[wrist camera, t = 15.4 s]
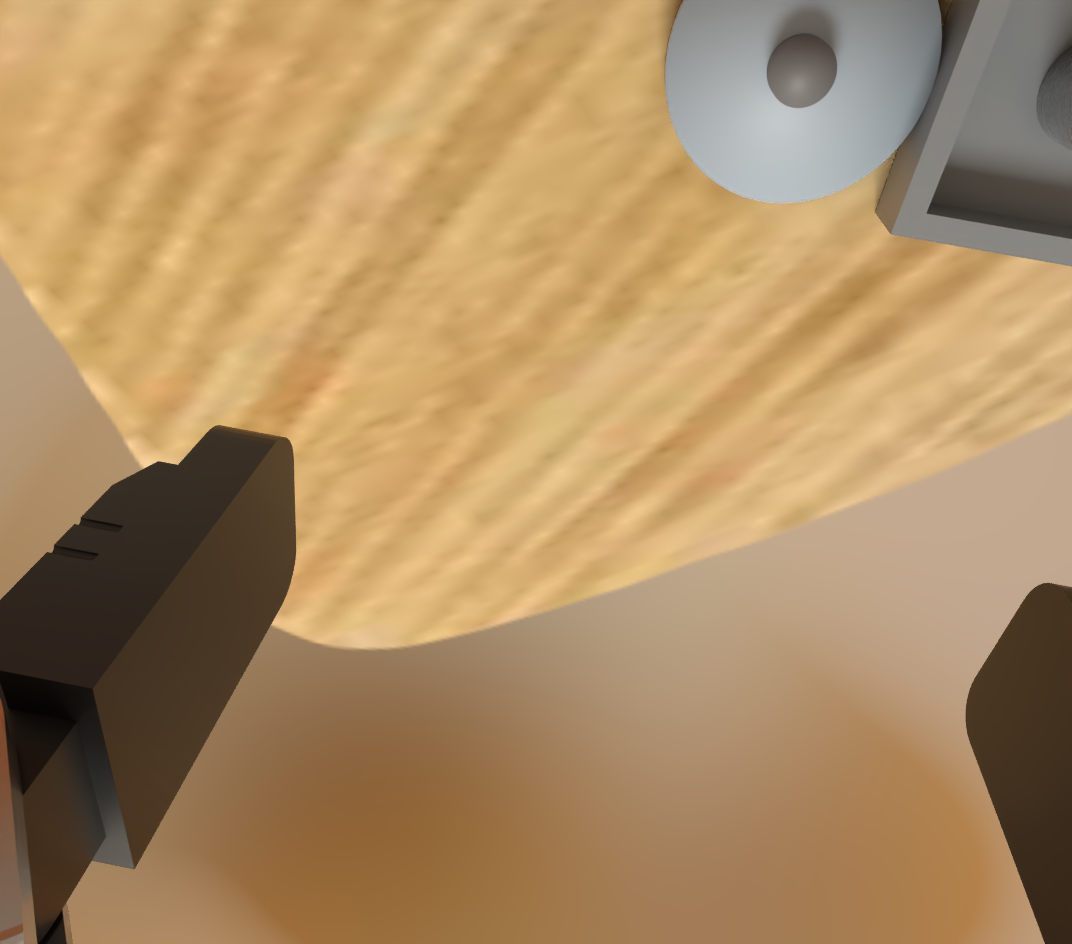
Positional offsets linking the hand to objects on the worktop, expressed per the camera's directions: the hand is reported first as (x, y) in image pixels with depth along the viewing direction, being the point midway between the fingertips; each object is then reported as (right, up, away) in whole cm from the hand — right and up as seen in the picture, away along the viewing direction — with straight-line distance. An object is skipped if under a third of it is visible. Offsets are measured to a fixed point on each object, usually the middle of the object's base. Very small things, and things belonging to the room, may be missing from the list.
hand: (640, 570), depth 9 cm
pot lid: (+9, +17, +24) cm, 31 cm away
